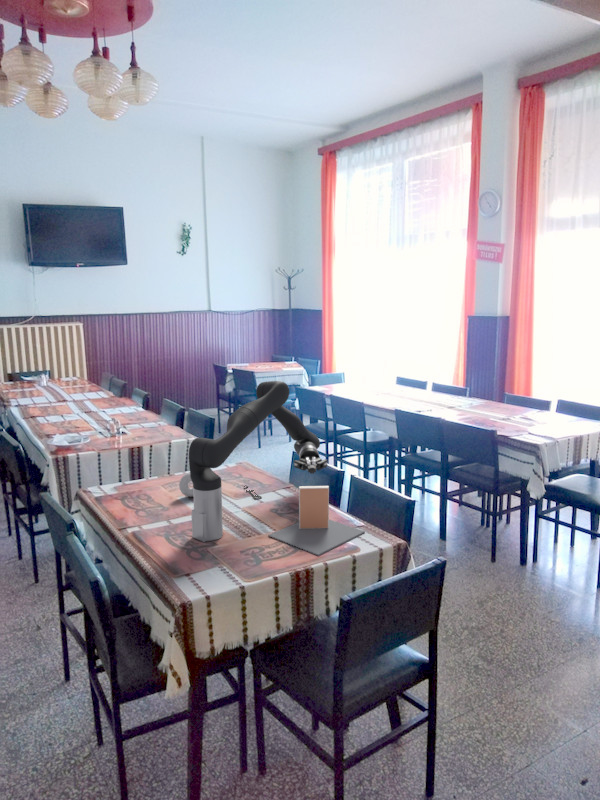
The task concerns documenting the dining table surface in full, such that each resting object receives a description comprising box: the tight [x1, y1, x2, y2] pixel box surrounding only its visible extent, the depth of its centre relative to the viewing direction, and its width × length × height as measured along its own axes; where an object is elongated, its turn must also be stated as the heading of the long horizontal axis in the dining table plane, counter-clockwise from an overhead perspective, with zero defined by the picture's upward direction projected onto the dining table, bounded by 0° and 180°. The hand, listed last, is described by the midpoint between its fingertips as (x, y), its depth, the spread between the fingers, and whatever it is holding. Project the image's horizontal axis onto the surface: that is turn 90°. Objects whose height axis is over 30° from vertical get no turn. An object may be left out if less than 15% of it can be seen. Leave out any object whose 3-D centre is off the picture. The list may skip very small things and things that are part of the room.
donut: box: [178, 471, 193, 498], centre depth 239 cm, size 10×4×10 cm, turn 119°
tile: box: [298, 485, 330, 529], centre depth 206 cm, size 2×10×14 cm, turn 92°
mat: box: [267, 519, 366, 557], centre depth 203 cm, size 24×22×1 cm
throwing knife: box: [244, 484, 262, 500], centre depth 245 cm, size 4×20×1 cm, turn 23°
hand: (312, 470), depth 214 cm, fingers closed
